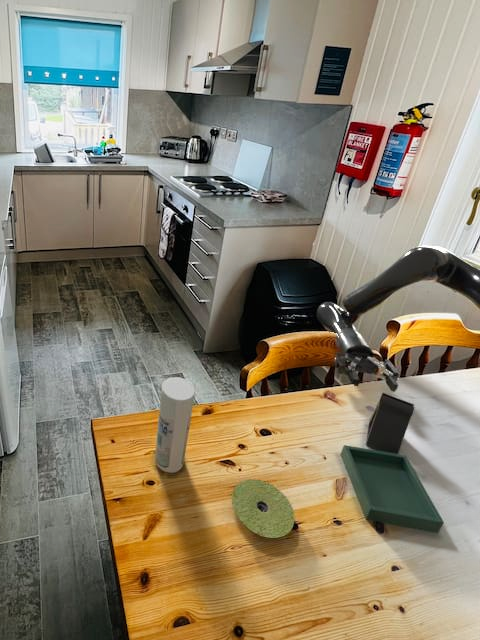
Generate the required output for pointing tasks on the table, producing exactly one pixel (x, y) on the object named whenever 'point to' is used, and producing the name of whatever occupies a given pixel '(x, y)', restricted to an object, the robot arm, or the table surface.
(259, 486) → the green abrasive disc
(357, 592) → the table surface
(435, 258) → the robot arm
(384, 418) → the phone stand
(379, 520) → the tray
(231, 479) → the table surface
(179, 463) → the spray can
